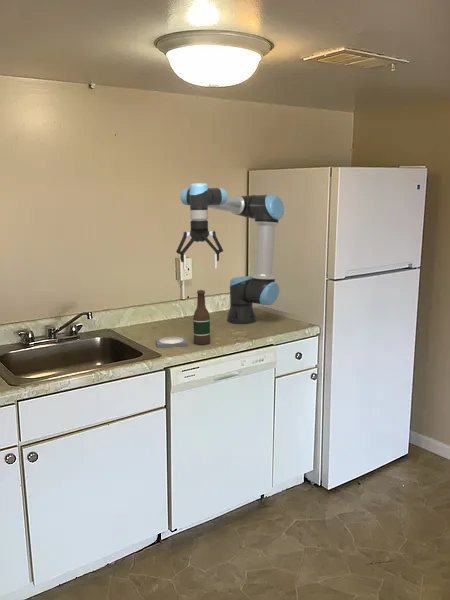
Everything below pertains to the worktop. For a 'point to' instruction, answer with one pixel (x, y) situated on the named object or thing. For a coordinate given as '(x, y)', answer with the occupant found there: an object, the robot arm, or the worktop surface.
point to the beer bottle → (201, 321)
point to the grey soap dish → (171, 342)
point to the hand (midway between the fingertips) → (200, 269)
